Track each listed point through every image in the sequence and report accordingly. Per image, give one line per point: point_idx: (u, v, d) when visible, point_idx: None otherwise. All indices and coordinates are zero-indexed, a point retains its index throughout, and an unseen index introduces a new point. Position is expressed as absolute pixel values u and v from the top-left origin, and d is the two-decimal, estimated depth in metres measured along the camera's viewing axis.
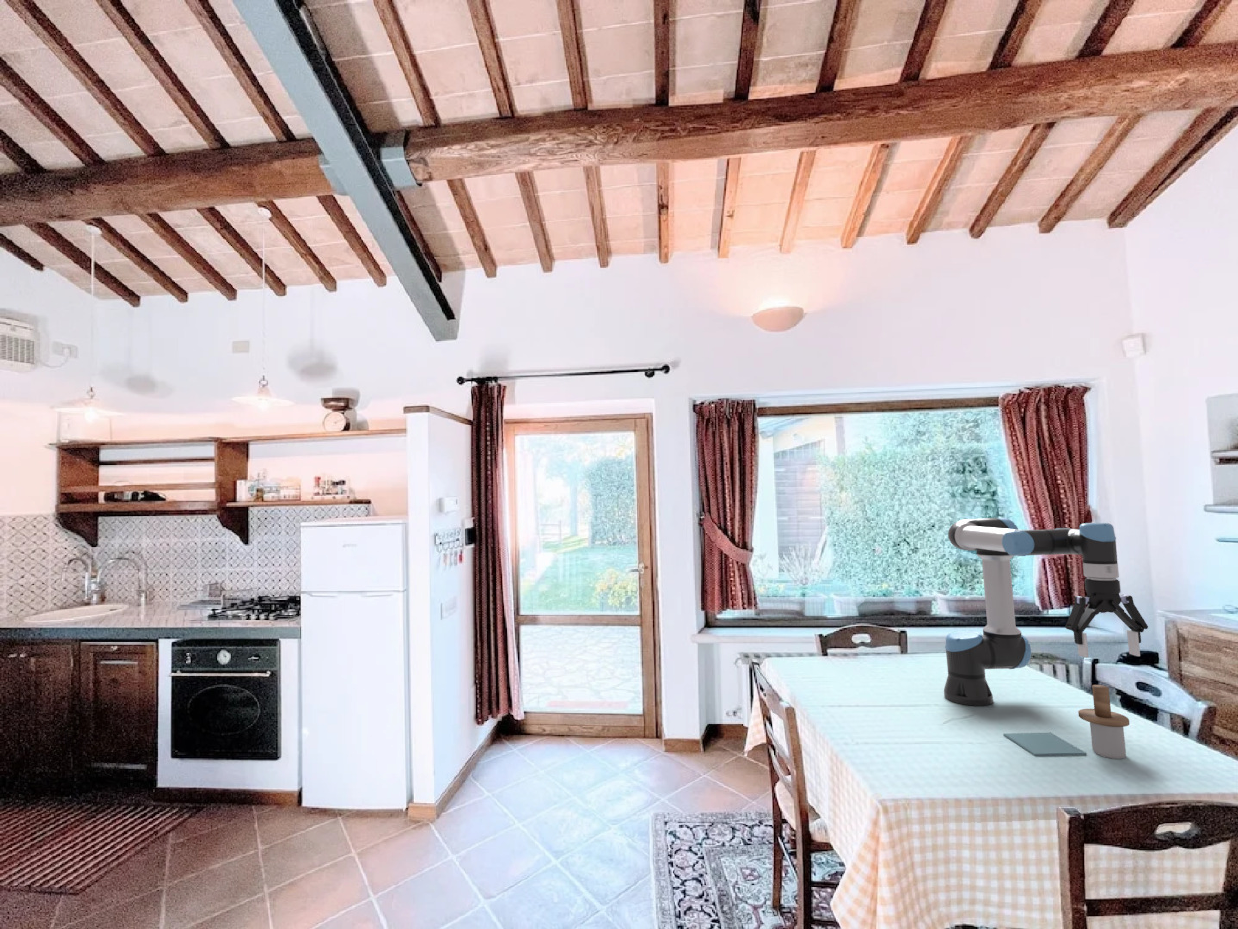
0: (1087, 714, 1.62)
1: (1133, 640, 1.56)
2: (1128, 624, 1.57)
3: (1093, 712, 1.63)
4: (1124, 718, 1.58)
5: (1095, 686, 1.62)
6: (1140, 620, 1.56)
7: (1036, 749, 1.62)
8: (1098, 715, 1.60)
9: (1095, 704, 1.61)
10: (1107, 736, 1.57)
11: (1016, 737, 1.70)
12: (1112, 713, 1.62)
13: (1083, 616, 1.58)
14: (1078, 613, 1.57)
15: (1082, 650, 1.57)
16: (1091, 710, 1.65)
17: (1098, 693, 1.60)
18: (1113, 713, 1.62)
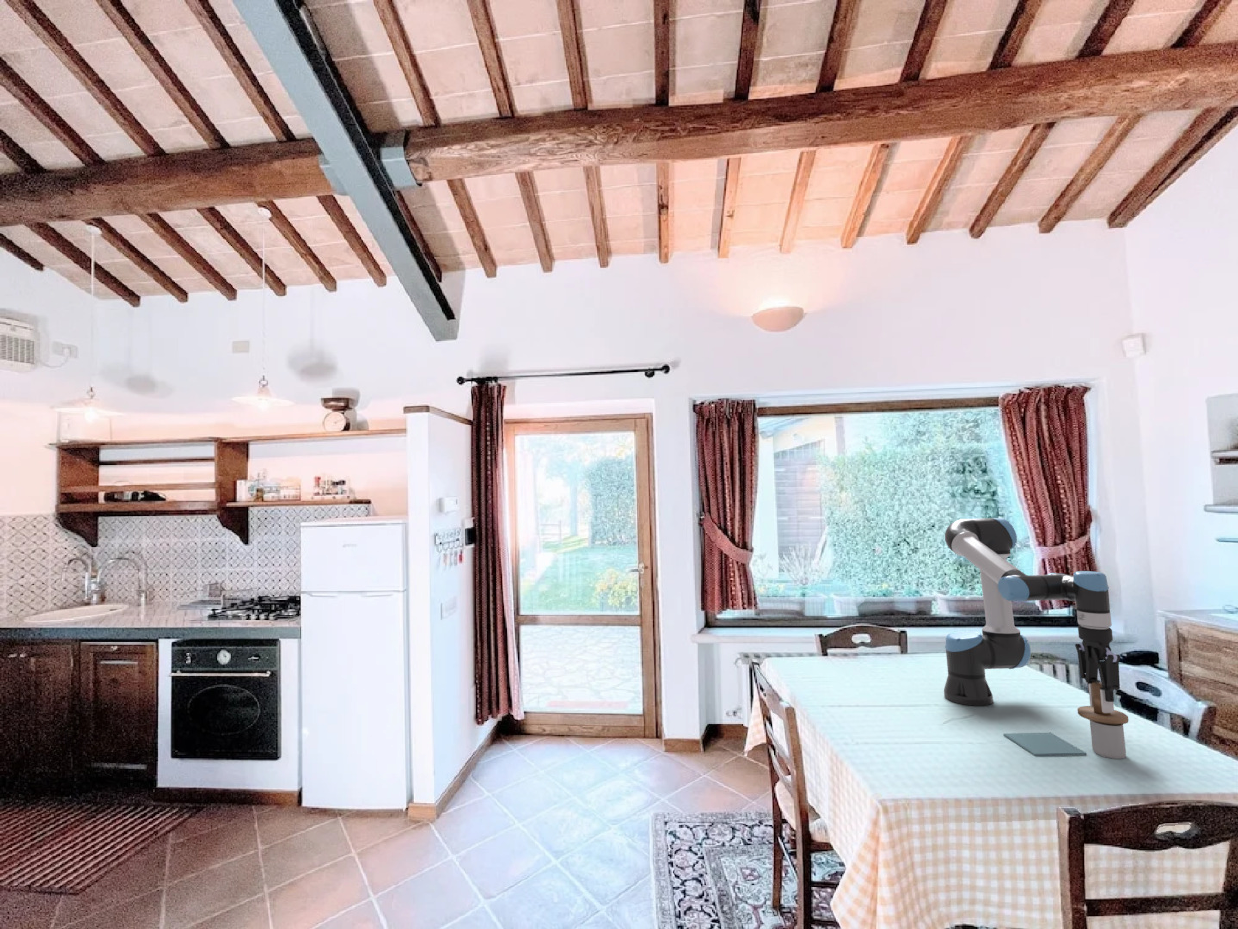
0: (1086, 711, 1.62)
1: None
2: None
3: (1092, 709, 1.64)
4: (1123, 715, 1.59)
5: (1094, 684, 1.62)
6: (1107, 679, 1.57)
7: (1036, 749, 1.62)
8: (1097, 712, 1.61)
9: (1094, 701, 1.61)
10: (1107, 736, 1.57)
11: (1016, 737, 1.70)
12: None
13: None
14: (1079, 660, 1.67)
15: None
16: (1090, 707, 1.65)
17: (1097, 690, 1.61)
18: None
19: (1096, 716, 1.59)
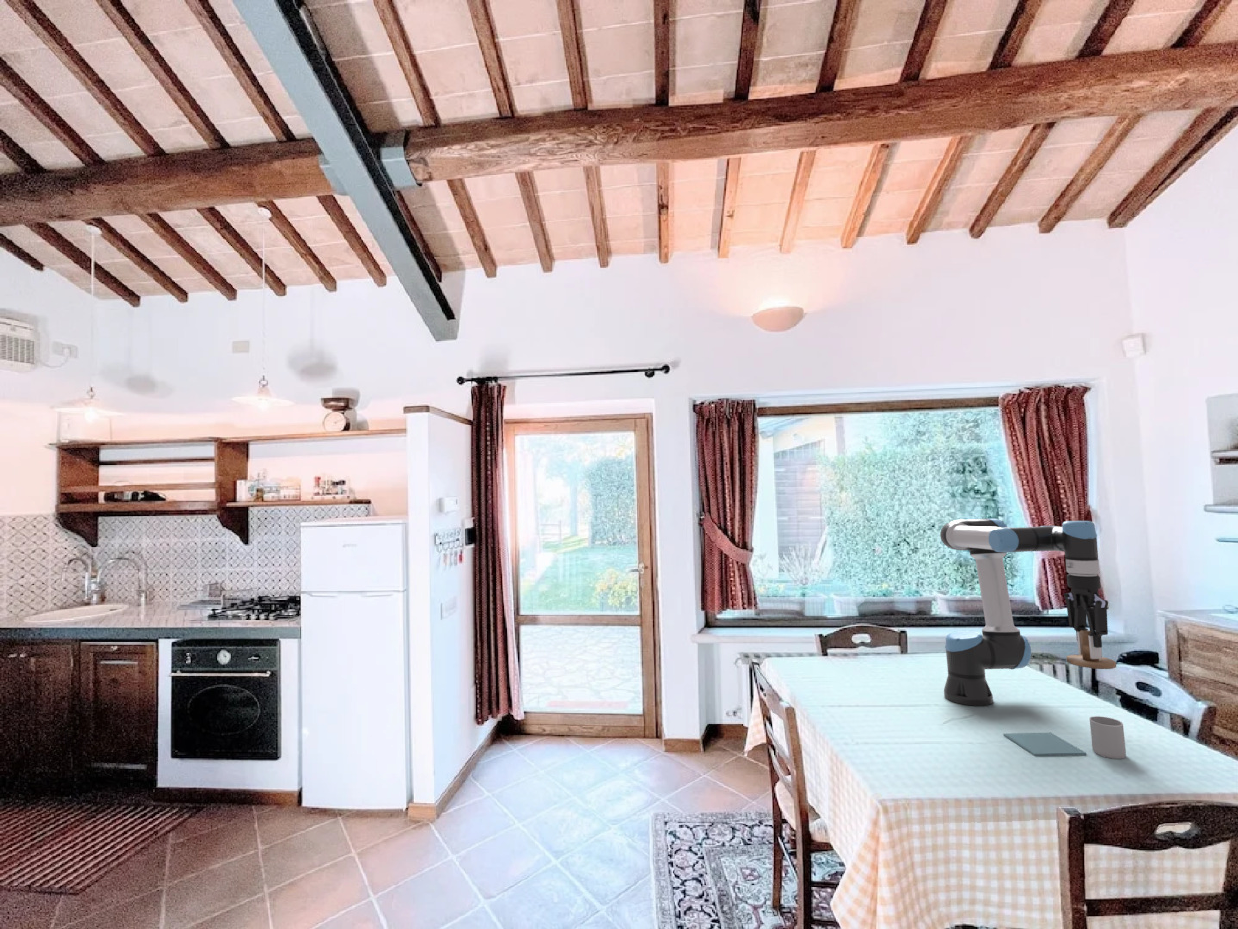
0: (1075, 659, 1.64)
1: None
2: None
3: (1081, 657, 1.65)
4: (1111, 661, 1.60)
5: (1083, 631, 1.64)
6: (1096, 625, 1.59)
7: (1036, 749, 1.62)
8: (1086, 659, 1.62)
9: (1083, 648, 1.63)
10: (1107, 736, 1.57)
11: (1016, 737, 1.70)
12: None
13: None
14: (1067, 609, 1.69)
15: None
16: (1079, 655, 1.67)
17: (1085, 637, 1.62)
18: None
19: (1085, 662, 1.60)
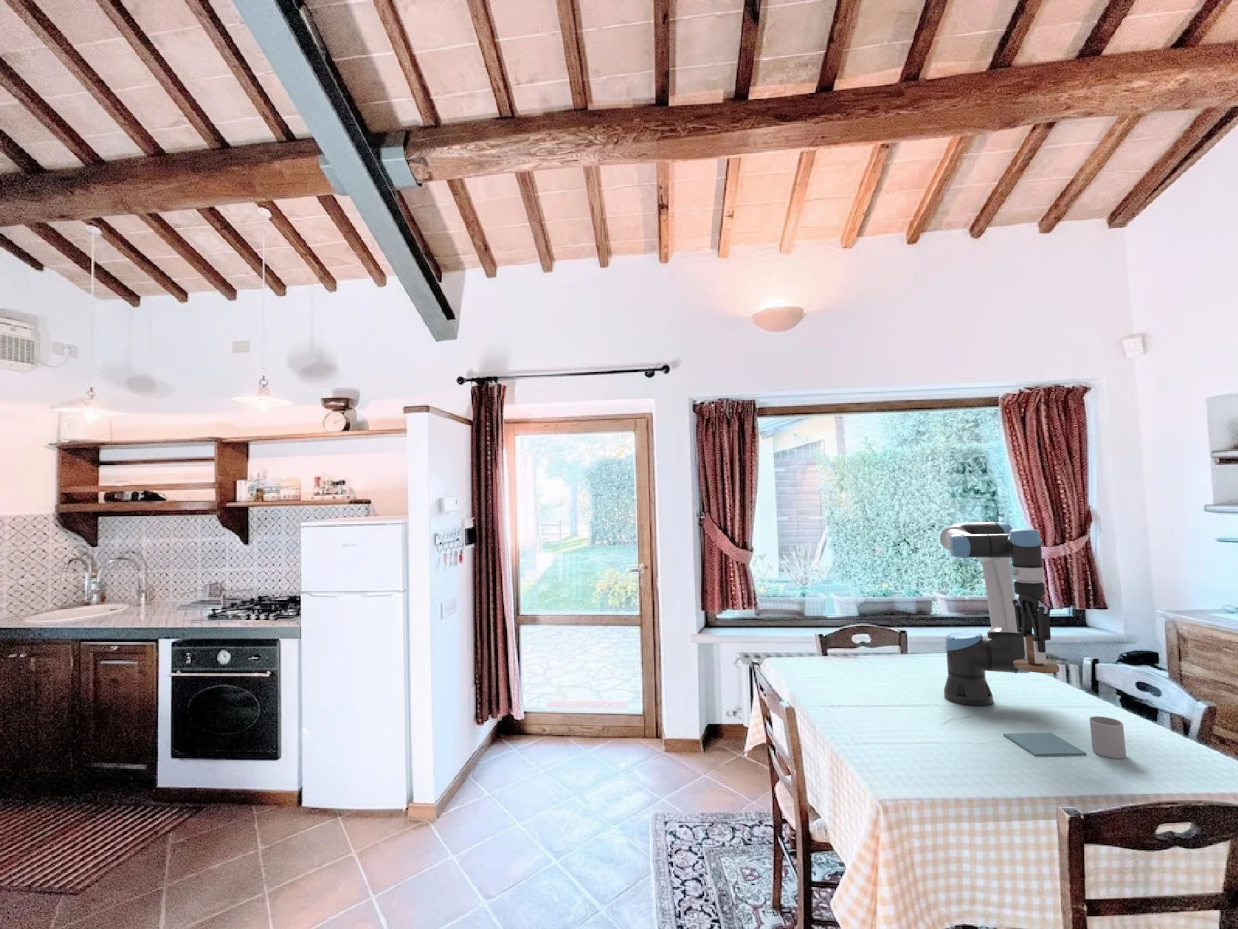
0: (1021, 663, 1.69)
1: None
2: None
3: (1027, 661, 1.70)
4: (1054, 666, 1.65)
5: (1028, 636, 1.68)
6: (1039, 630, 1.63)
7: (1036, 749, 1.62)
8: (1031, 663, 1.67)
9: (1028, 653, 1.68)
10: (1107, 736, 1.57)
11: (1016, 737, 1.70)
12: None
13: None
14: (1015, 615, 1.74)
15: None
16: (1026, 660, 1.71)
17: (1030, 642, 1.67)
18: (1046, 662, 1.69)
19: (1029, 666, 1.65)
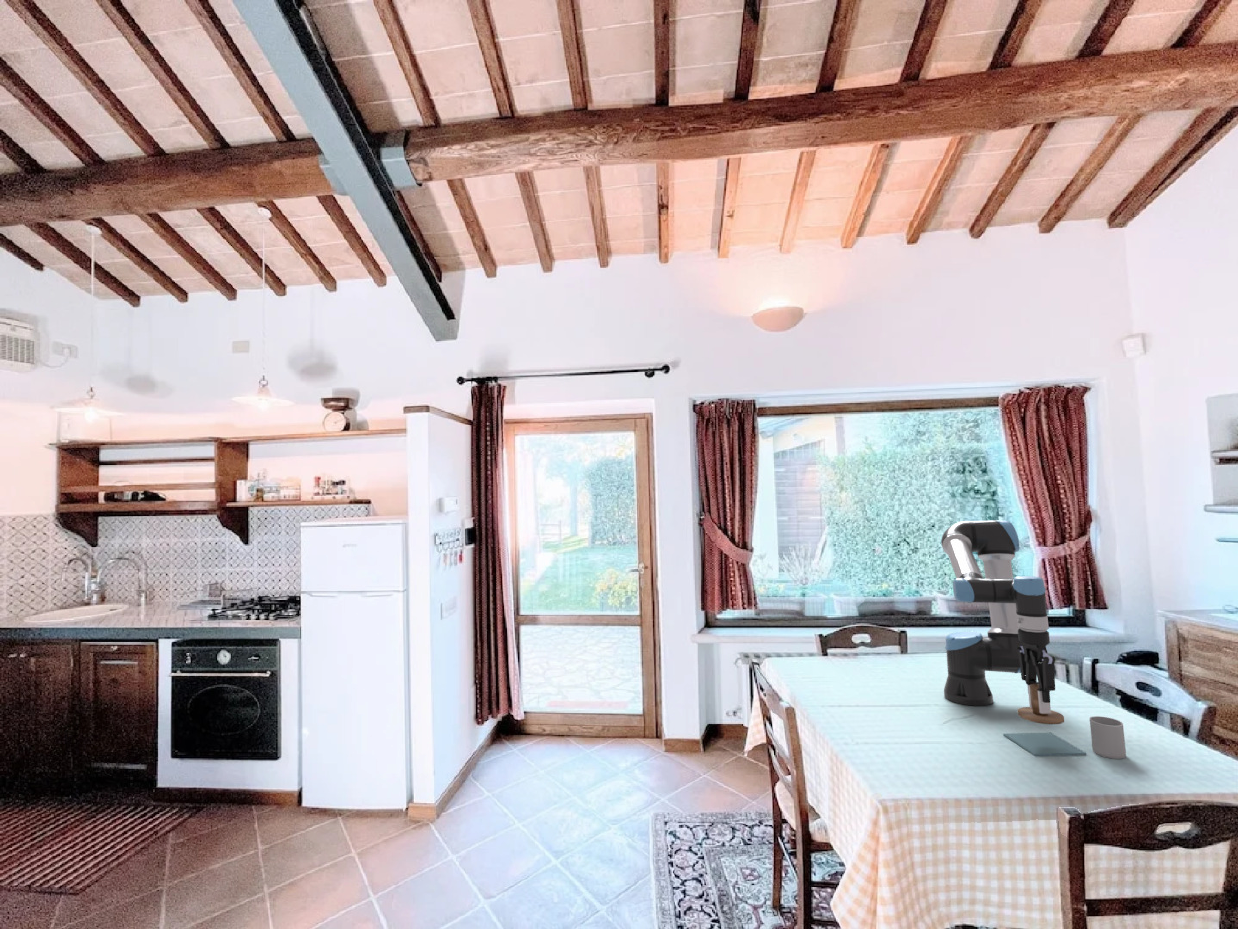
0: (1025, 712, 1.68)
1: None
2: None
3: (1031, 710, 1.69)
4: (1059, 716, 1.64)
5: (1033, 685, 1.67)
6: (1044, 680, 1.62)
7: (1036, 749, 1.62)
8: (1035, 713, 1.66)
9: (1033, 702, 1.67)
10: (1107, 736, 1.57)
11: (1016, 737, 1.70)
12: None
13: None
14: (1020, 662, 1.73)
15: None
16: (1030, 708, 1.70)
17: (1035, 691, 1.66)
18: None
19: (1033, 716, 1.64)
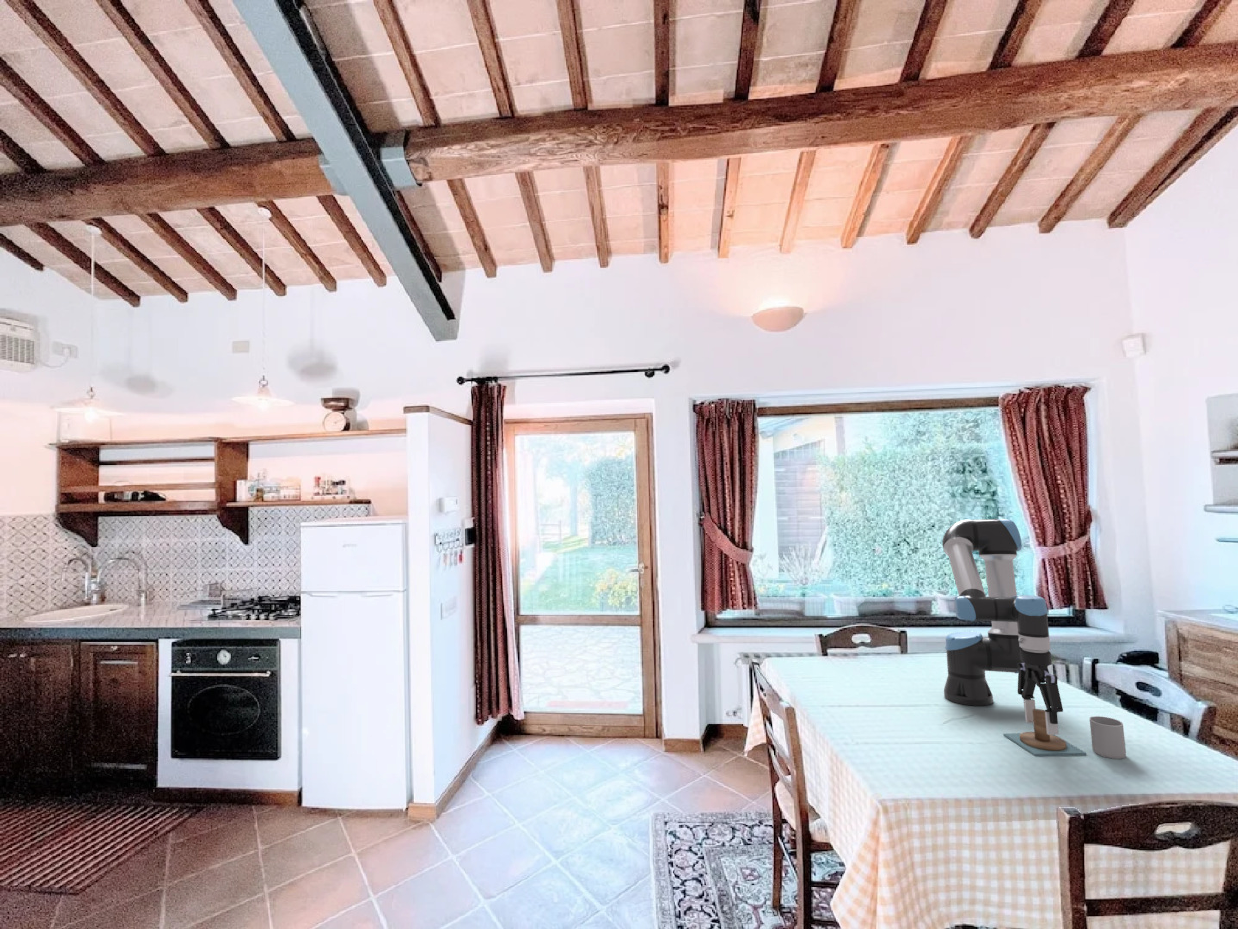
0: (1027, 738, 1.67)
1: None
2: None
3: (1034, 735, 1.68)
4: (1061, 742, 1.63)
5: (1035, 710, 1.67)
6: (1050, 701, 1.60)
7: (1036, 749, 1.62)
8: (1037, 739, 1.65)
9: (1035, 728, 1.66)
10: (1107, 736, 1.57)
11: (1016, 737, 1.70)
12: (1052, 736, 1.67)
13: None
14: (1018, 678, 1.74)
15: None
16: (1032, 733, 1.70)
17: (1037, 717, 1.65)
18: (1052, 736, 1.67)
19: (1036, 742, 1.64)
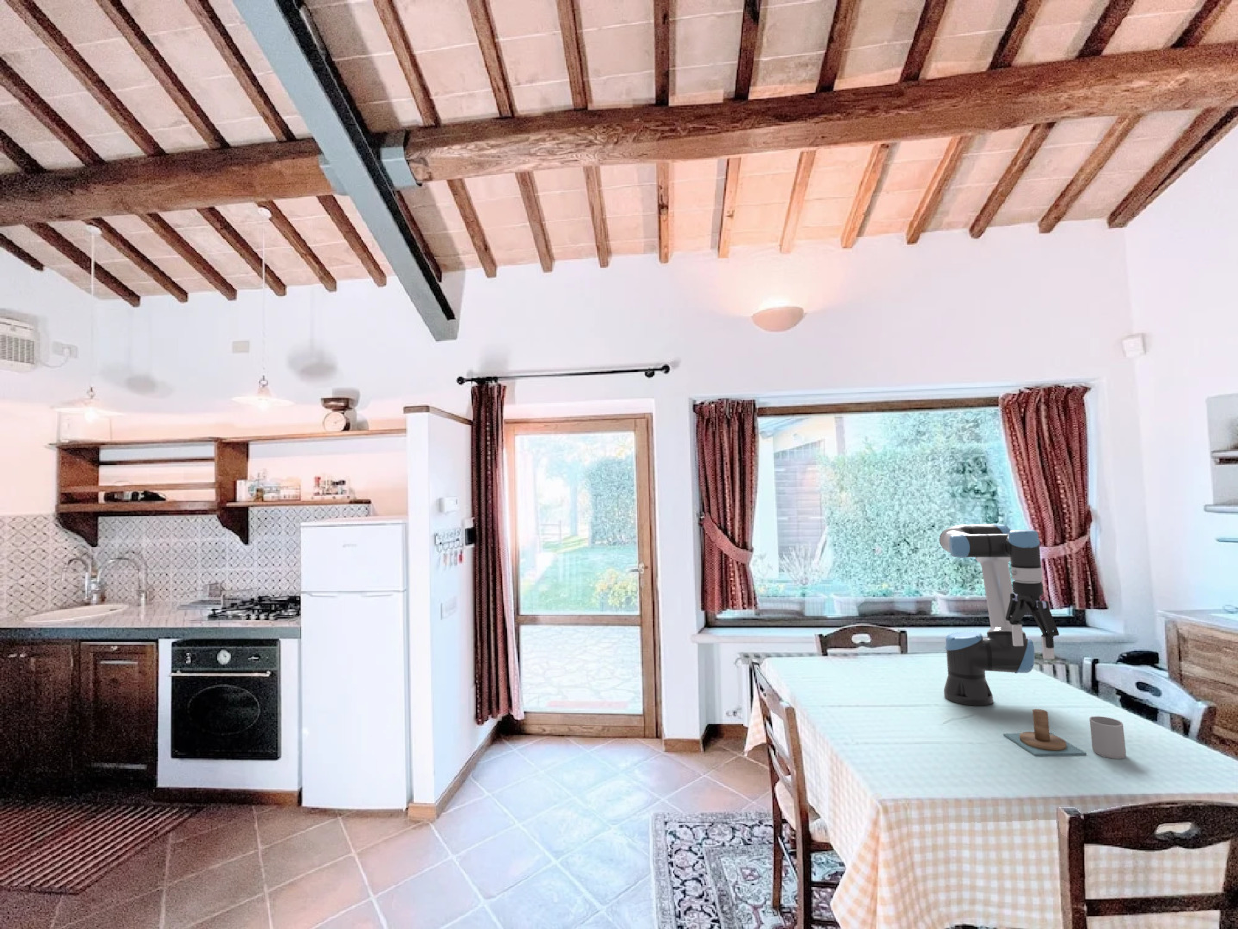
0: (1027, 738, 1.67)
1: None
2: None
3: (1034, 735, 1.68)
4: (1061, 742, 1.63)
5: (1035, 710, 1.67)
6: (1045, 626, 1.63)
7: (1036, 749, 1.62)
8: (1037, 739, 1.65)
9: (1035, 728, 1.66)
10: (1107, 736, 1.57)
11: (1016, 737, 1.70)
12: (1051, 736, 1.67)
13: None
14: (1009, 606, 1.79)
15: None
16: (1032, 733, 1.70)
17: (1037, 717, 1.65)
18: (1052, 736, 1.67)
19: (1036, 742, 1.64)
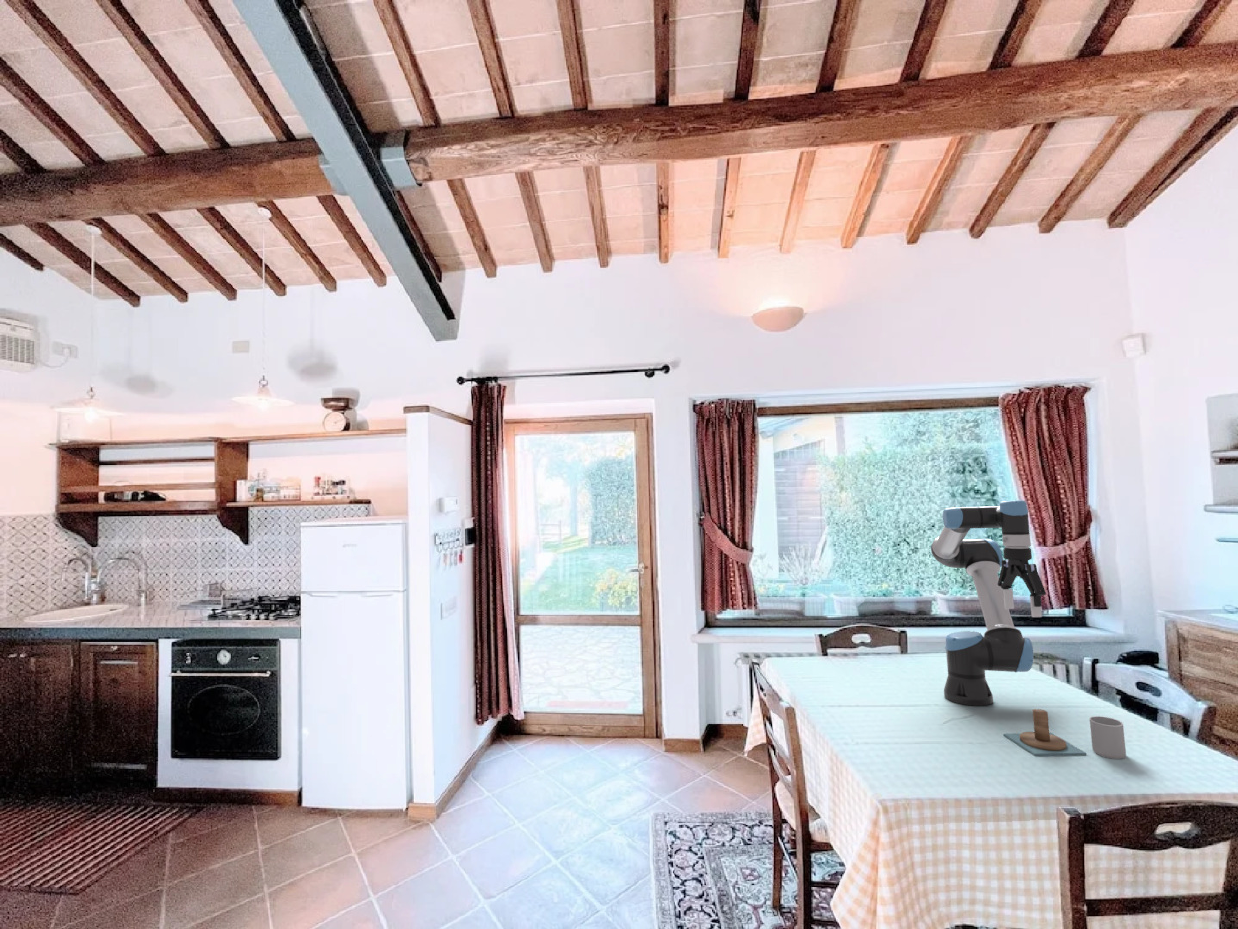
0: (1027, 738, 1.67)
1: None
2: None
3: (1034, 735, 1.68)
4: (1061, 742, 1.63)
5: (1035, 710, 1.67)
6: (1033, 586, 1.77)
7: (1036, 749, 1.62)
8: (1037, 739, 1.65)
9: (1035, 728, 1.66)
10: (1107, 736, 1.57)
11: (1016, 737, 1.70)
12: (1051, 736, 1.67)
13: None
14: (1000, 572, 1.94)
15: None
16: (1032, 733, 1.70)
17: (1037, 717, 1.65)
18: (1052, 736, 1.67)
19: (1036, 742, 1.64)
